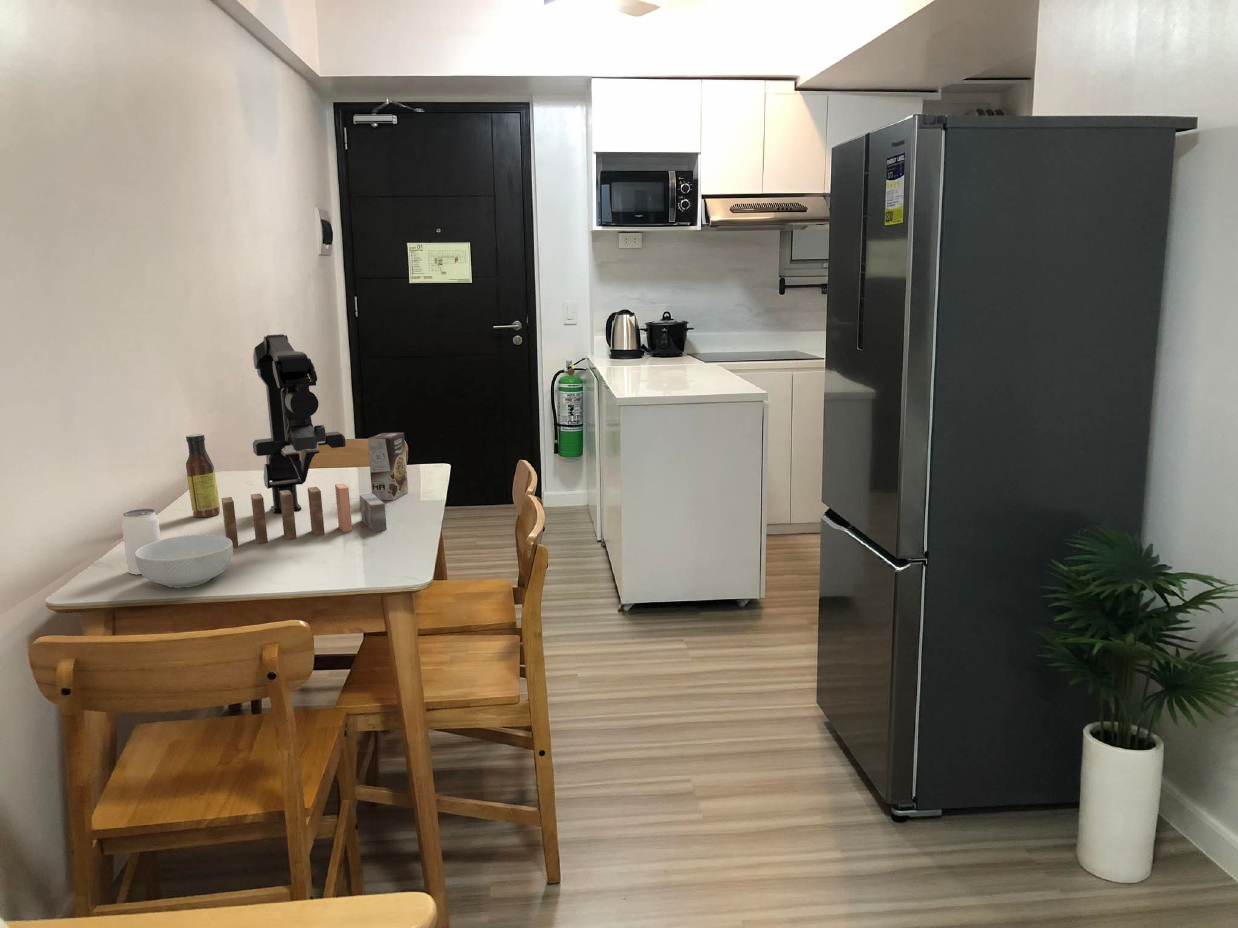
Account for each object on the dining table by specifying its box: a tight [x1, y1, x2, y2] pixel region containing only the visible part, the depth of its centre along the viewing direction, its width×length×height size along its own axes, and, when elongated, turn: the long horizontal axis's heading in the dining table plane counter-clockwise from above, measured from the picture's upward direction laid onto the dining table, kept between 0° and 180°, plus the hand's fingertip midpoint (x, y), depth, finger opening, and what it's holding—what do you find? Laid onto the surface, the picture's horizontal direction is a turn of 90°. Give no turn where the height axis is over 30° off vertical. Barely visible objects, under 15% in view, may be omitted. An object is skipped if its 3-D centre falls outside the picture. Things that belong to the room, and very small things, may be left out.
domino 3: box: [280, 490, 298, 541], centre depth 212 cm, size 2×5×10 cm, turn 27°
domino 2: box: [250, 493, 269, 545], centre depth 209 cm, size 2×5×10 cm, turn 27°
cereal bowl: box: [135, 534, 234, 589], centre depth 182 cm, size 17×17×7 cm
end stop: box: [359, 493, 388, 533], centre depth 220 cm, size 12×3×6 cm, turn 27°
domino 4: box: [307, 486, 326, 537], centre depth 215 cm, size 2×5×10 cm, turn 27°
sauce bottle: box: [185, 433, 221, 518], centre depth 232 cm, size 6×6×20 cm
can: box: [121, 508, 162, 575], centre depth 189 cm, size 6×6×12 cm
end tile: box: [334, 483, 353, 533], centre depth 217 cm, size 2×5×10 cm, turn 27°
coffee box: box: [367, 432, 409, 501], centre depth 248 cm, size 9×6×16 cm
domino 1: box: [221, 496, 239, 549], centre depth 207 cm, size 2×5×10 cm, turn 27°
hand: (303, 481), depth 212 cm, fingers closed
